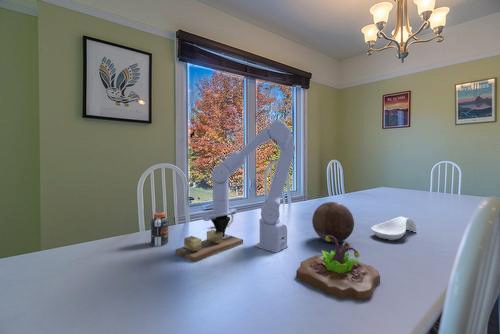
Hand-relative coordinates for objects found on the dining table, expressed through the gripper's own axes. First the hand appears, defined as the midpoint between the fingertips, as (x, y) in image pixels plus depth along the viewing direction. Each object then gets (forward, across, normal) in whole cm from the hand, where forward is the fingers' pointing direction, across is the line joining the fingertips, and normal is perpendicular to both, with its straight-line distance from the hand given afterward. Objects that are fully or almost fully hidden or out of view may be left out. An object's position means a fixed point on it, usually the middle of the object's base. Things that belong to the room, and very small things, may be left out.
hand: (220, 237), depth 91 cm
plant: (+3, -4, +41) cm, 41 cm away
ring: (+3, -19, -16) cm, 25 cm away
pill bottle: (+3, +13, -18) cm, 23 cm away
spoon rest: (+3, -55, +46) cm, 72 cm away
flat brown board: (+3, +4, 0) cm, 5 cm away
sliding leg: (+1, +3, -1) cm, 3 cm away
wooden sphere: (+3, -31, +29) cm, 42 cm away
